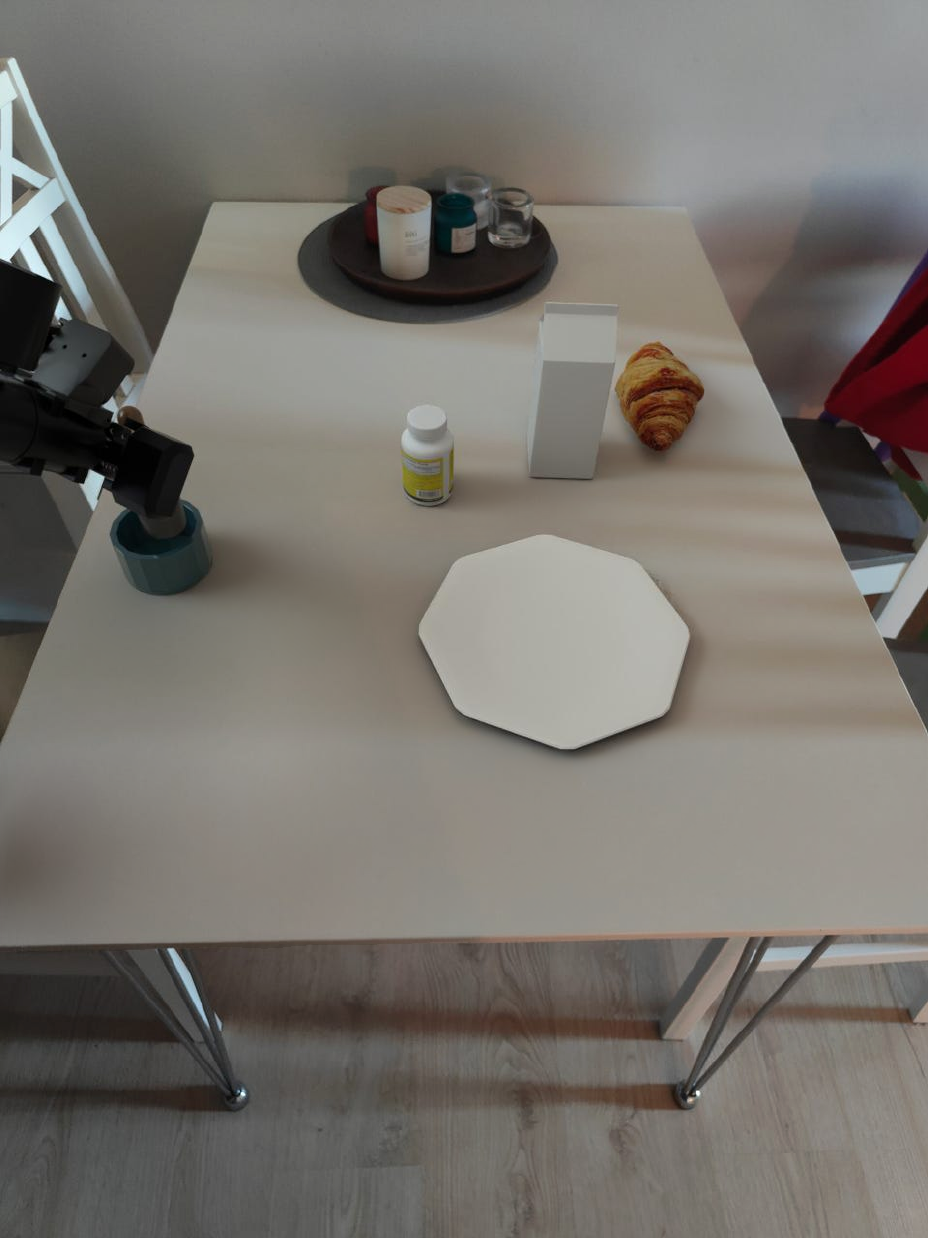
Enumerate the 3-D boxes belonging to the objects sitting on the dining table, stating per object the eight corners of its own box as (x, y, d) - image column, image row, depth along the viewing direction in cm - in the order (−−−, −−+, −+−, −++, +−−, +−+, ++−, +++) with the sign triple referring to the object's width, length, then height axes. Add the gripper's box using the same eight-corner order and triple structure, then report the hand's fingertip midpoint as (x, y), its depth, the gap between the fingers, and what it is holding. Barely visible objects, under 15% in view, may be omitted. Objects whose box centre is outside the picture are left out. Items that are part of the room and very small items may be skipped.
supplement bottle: (429, 467, 95) (429, 393, 87) (463, 491, 92) (466, 417, 85) (392, 489, 92) (389, 415, 85) (426, 514, 90) (426, 441, 82)
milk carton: (592, 480, 94) (623, 325, 80) (528, 478, 94) (547, 322, 79) (587, 439, 99) (615, 285, 84) (526, 437, 99) (543, 283, 84)
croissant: (624, 378, 112) (604, 327, 107) (700, 352, 108) (684, 298, 103) (629, 483, 98) (607, 430, 93) (717, 457, 95) (699, 400, 89)
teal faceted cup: (117, 596, 81) (101, 560, 77) (133, 534, 87) (119, 497, 83) (206, 594, 82) (195, 558, 78) (217, 532, 87) (207, 495, 83)
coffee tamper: (165, 545, 77) (126, 429, 67) (133, 528, 78) (89, 412, 68) (196, 519, 79) (162, 403, 69) (163, 503, 81) (126, 387, 71)
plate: (390, 587, 83) (390, 576, 82) (601, 525, 90) (604, 514, 88) (490, 787, 70) (491, 779, 68) (730, 697, 76) (735, 688, 75)
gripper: (143, 354, 56) (273, 408, 70) (-49, 271, 61) (109, 337, 76) (88, 512, 57) (227, 532, 72) (-94, 417, 63) (69, 454, 78)
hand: (157, 459), depth 74 cm, fingers closed on coffee tamper, 2 cm apart
